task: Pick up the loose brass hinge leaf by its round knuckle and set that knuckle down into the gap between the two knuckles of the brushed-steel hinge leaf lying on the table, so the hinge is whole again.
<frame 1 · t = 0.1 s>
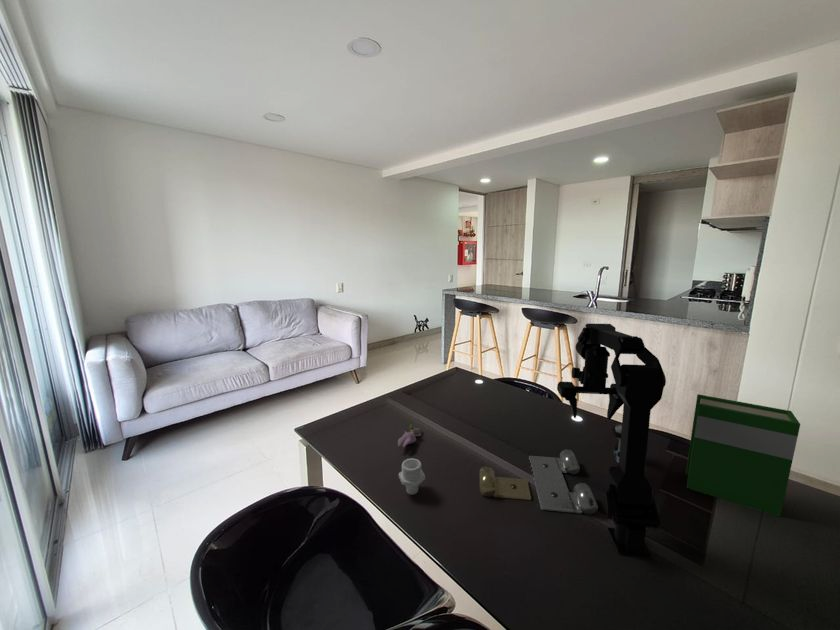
hand: (591, 418, 100), 15 cm above the table, tool pointing down, fingers open, 9 cm apart
steel hinge leaf: (576, 484, 94), on the table
brass hinge leaf: (487, 487, 94), on the table
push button: (619, 459, 105), on the table
purple flower: (410, 442, 116), on the table
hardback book: (728, 493, 90), on the table
pipe fitting: (412, 491, 93), on the table
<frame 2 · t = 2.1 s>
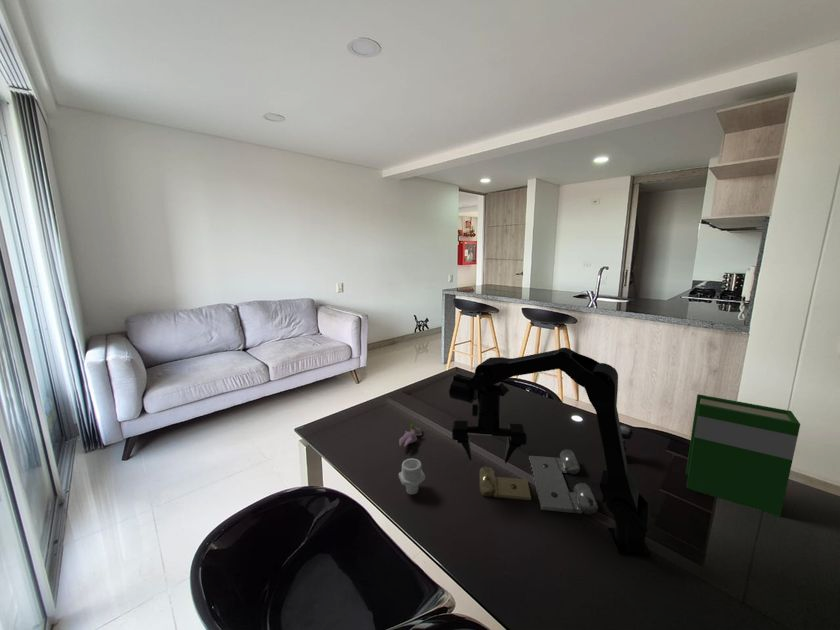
hand: (487, 460, 92), 8 cm above the table, tool pointing down, fingers open, 9 cm apart
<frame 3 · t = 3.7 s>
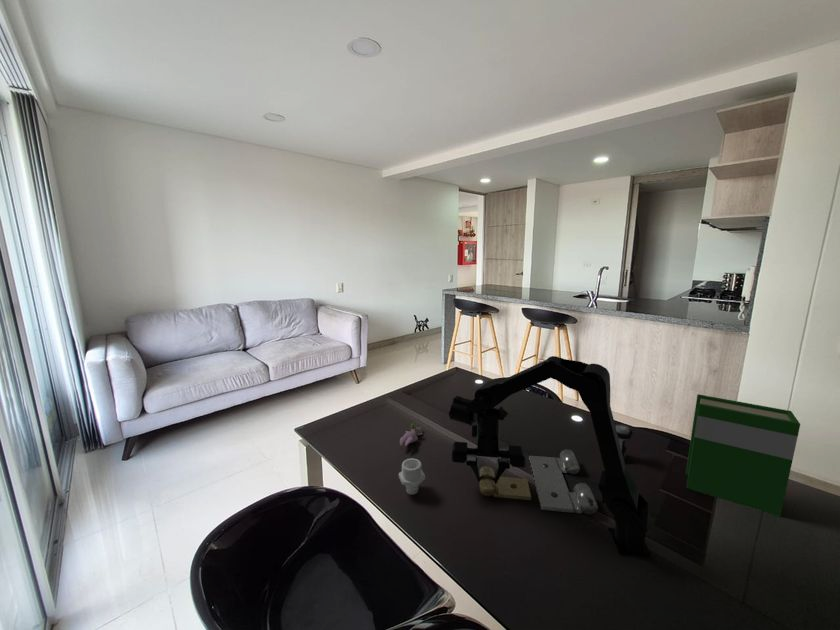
hand: (487, 481, 93), 2 cm above the table, tool pointing down, fingers closed on brass hinge leaf, 4 cm apart
brass hinge leaf: (487, 487, 94), on the table, touching gripper
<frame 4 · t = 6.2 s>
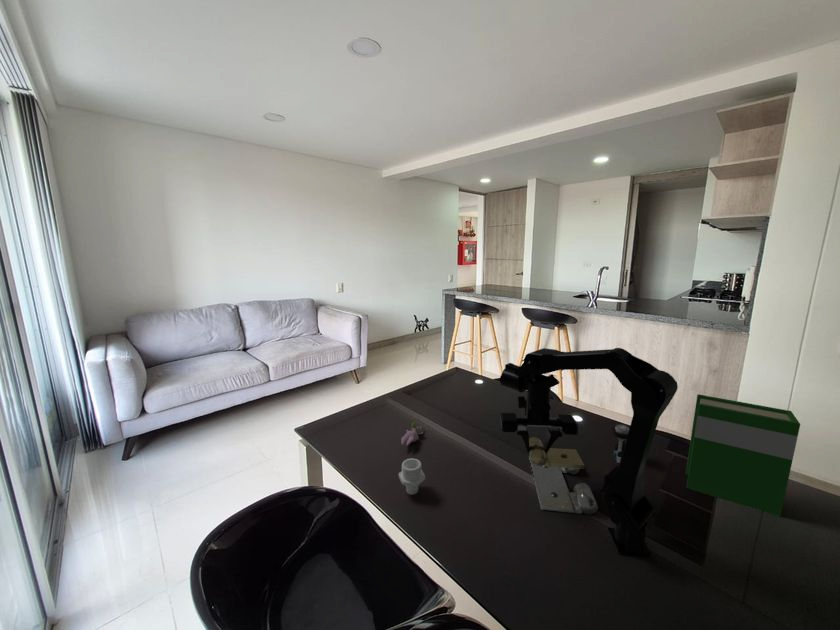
hand: (536, 452, 91), 10 cm above the table, tool pointing down, fingers closed on brass hinge leaf, 4 cm apart
brass hinge leaf: (536, 457, 92), point 9 cm above the table, touching gripper
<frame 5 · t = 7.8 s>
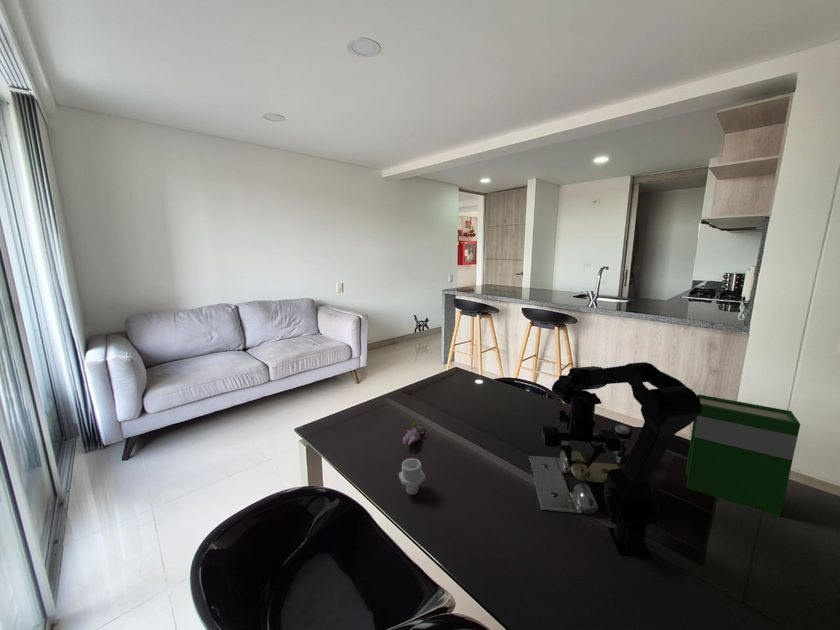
hand: (577, 467, 92), 6 cm above the table, tool pointing down, fingers closed on brass hinge leaf, 4 cm apart
brass hinge leaf: (577, 471, 93), point 4 cm above the table, touching gripper
when the fingers open (2 cm above the table, at t = 9.1 s): brass hinge leaf drops 1 cm, on the table.
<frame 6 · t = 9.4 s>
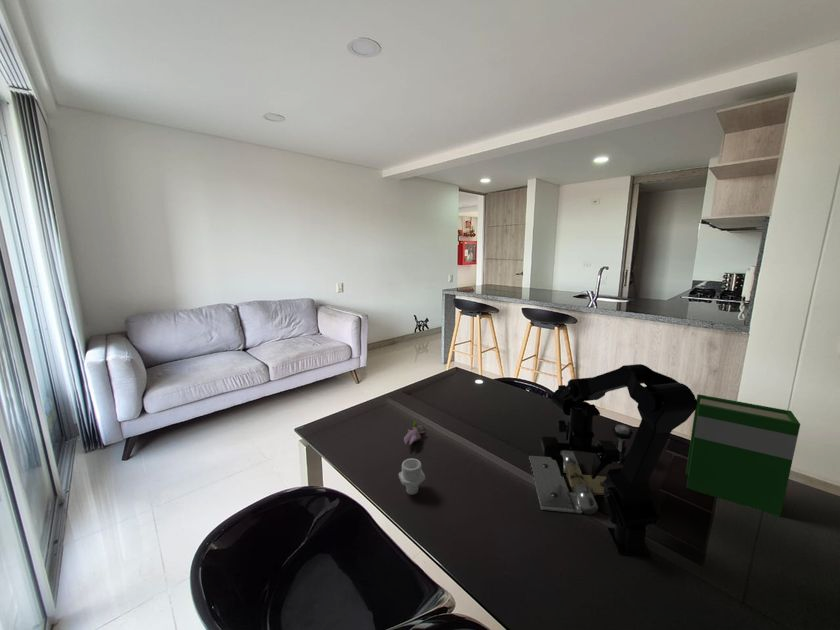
hand: (576, 476, 93), 2 cm above the table, tool pointing down, fingers open, 8 cm apart
brass hinge leaf: (575, 485, 94), on the table
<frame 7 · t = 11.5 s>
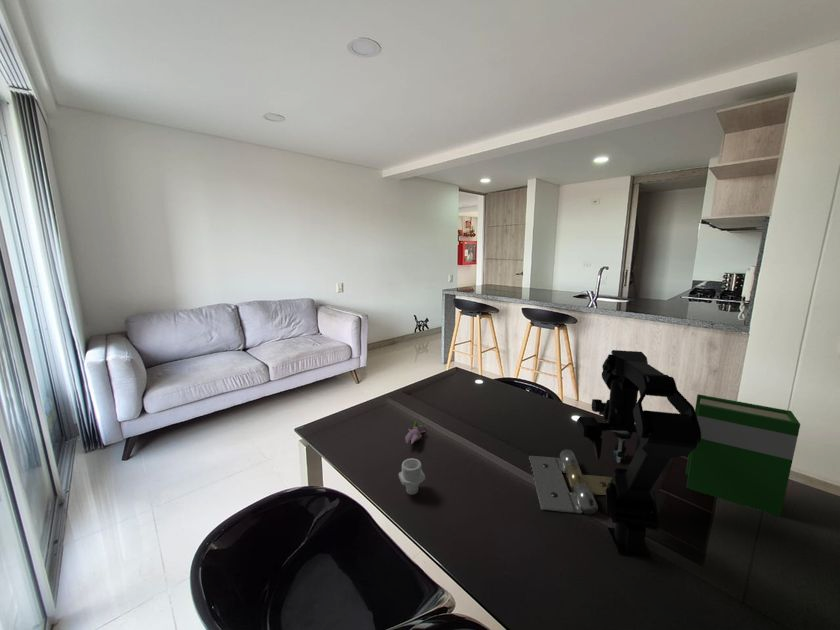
hand: (617, 459, 86), 11 cm above the table, tool pointing down, fingers open, 9 cm apart
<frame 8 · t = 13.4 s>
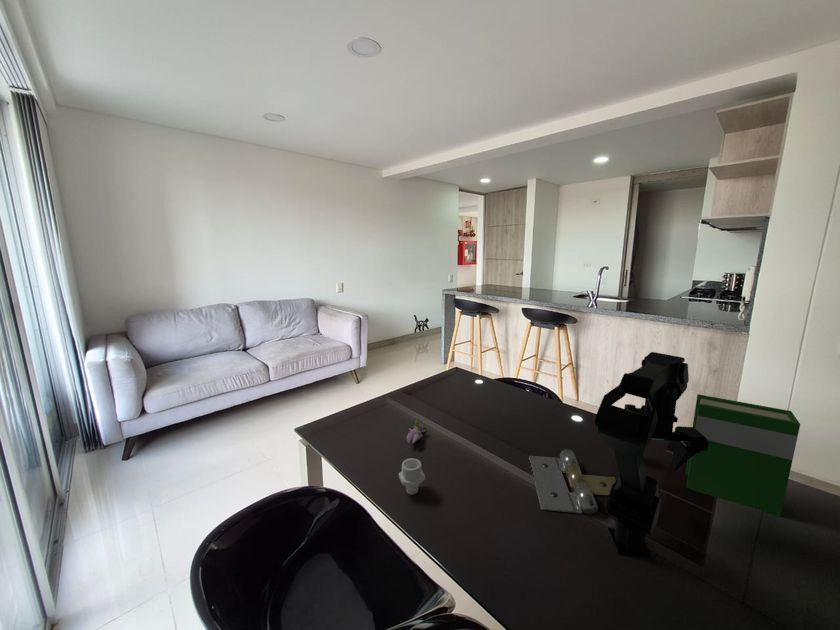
hand: (651, 468, 81), 12 cm above the table, tool pointing down, fingers open, 9 cm apart
at the end: brass hinge leaf 0.2 cm off-centre on the steel hinge leaf, point 0.0 cm above the steel hinge leaf's base; brass hinge leaf tilted 0°; the gripper is holding nothing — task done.
